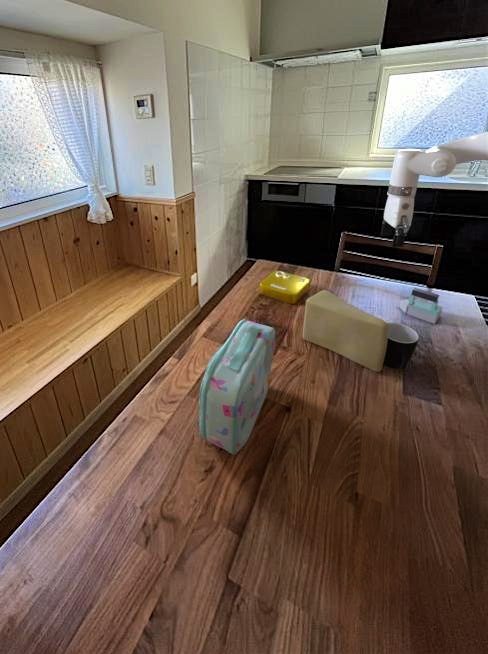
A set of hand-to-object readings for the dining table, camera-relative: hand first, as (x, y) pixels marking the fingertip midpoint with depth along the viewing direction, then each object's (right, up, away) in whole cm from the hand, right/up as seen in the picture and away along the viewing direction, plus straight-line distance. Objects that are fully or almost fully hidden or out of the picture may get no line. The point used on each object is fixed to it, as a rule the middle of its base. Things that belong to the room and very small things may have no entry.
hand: (391, 240), depth 113 cm
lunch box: (-56, -43, -31) cm, 77 cm away
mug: (-12, -36, -20) cm, 43 cm away
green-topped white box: (+9, -25, +1) cm, 26 cm away
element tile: (-31, -19, +19) cm, 41 cm away
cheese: (-23, -33, -14) cm, 43 cm away
